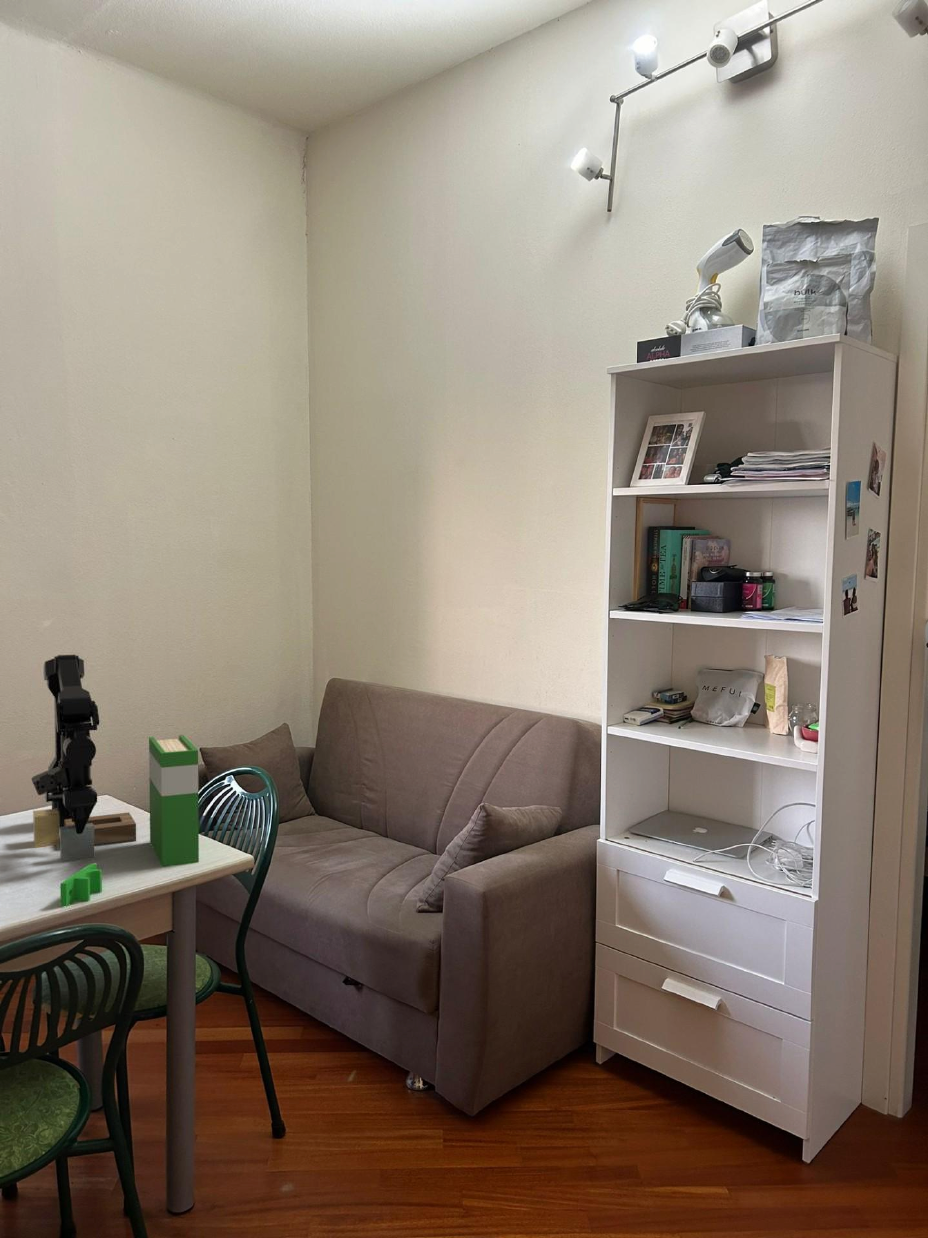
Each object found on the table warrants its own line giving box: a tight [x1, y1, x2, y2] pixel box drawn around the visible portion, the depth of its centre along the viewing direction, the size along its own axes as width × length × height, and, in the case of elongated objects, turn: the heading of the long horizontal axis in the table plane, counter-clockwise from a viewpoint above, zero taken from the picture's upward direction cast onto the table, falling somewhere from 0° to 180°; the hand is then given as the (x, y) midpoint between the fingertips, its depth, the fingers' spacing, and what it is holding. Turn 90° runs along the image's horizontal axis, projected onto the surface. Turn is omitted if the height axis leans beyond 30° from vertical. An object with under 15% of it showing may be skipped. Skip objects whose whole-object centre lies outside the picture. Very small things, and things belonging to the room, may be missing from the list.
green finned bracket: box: [60, 863, 103, 908], centre depth 177 cm, size 11×4×5 cm, turn 173°
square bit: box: [32, 808, 60, 849], centre depth 208 cm, size 5×5×7 cm
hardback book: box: [148, 734, 200, 868], centre depth 203 cm, size 18×7×24 cm, turn 26°
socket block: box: [65, 811, 137, 847], centre depth 212 cm, size 10×14×4 cm
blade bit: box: [59, 823, 96, 864], centre depth 198 cm, size 2×6×7 cm, turn 118°
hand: (77, 827), depth 198 cm, fingers open, 9 cm apart
